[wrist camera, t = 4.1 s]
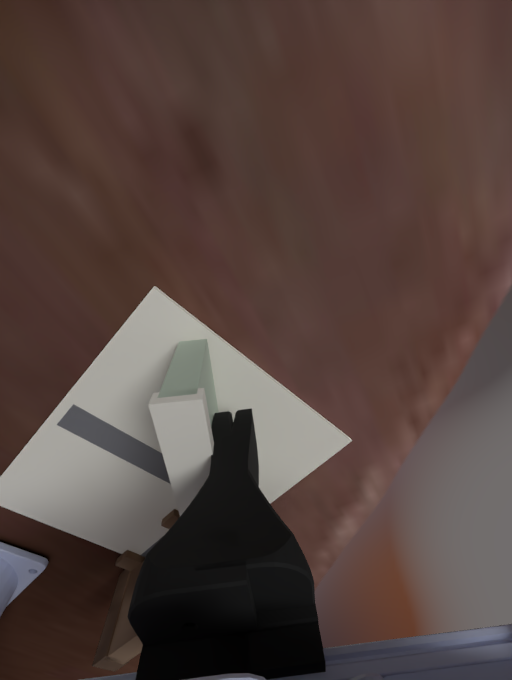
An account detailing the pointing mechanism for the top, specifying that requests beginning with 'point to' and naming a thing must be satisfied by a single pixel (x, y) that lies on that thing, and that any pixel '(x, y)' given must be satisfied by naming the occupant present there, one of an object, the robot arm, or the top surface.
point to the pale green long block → (186, 419)
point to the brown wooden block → (123, 612)
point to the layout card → (151, 434)
